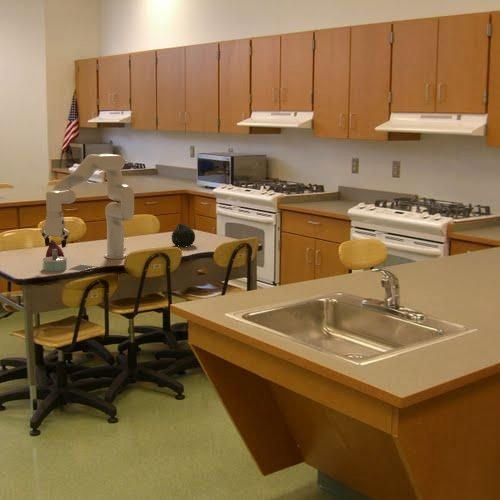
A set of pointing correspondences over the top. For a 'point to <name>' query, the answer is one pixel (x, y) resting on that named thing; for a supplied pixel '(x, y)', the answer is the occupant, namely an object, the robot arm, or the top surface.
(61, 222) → the robot arm
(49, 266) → the bowl
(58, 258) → the lid
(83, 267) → the mat
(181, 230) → the squash
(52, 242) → the vegetable
